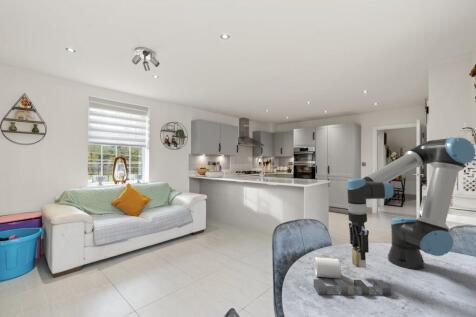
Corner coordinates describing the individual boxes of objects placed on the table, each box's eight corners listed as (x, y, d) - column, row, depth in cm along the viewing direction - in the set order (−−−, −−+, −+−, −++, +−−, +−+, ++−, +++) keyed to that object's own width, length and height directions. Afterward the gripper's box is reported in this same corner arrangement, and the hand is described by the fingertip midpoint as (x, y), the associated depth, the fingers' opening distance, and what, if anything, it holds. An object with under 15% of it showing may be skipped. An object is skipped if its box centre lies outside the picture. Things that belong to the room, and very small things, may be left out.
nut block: (360, 263, 105) (360, 248, 105) (365, 267, 101) (365, 251, 101) (352, 263, 105) (351, 248, 105) (356, 267, 101) (356, 251, 101)
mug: (341, 282, 98) (341, 263, 98) (317, 279, 100) (316, 261, 100) (335, 269, 110) (335, 252, 110) (313, 267, 112) (313, 251, 112)
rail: (381, 287, 94) (381, 279, 94) (391, 295, 88) (391, 287, 88) (313, 286, 94) (313, 279, 94) (318, 294, 88) (318, 287, 88)
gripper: (340, 209, 112) (342, 256, 112) (358, 217, 95) (361, 273, 95) (356, 208, 112) (358, 256, 111) (376, 216, 95) (379, 273, 94)
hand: (359, 264), depth 103 cm, fingers closed on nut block, 4 cm apart
